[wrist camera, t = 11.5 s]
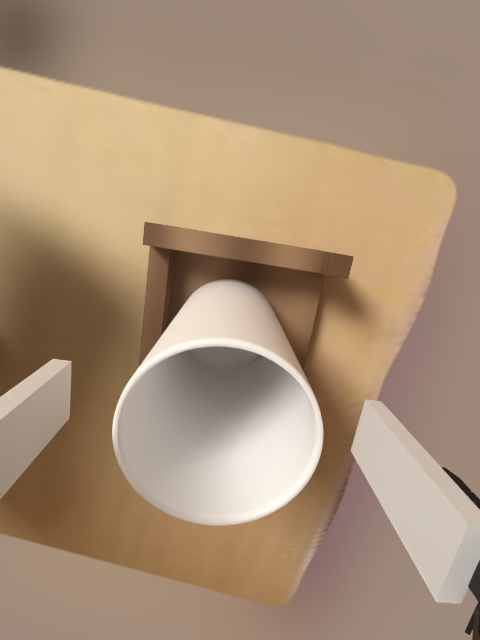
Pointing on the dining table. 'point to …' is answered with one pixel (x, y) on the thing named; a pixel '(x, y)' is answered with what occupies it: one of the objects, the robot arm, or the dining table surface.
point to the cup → (219, 413)
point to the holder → (234, 278)
